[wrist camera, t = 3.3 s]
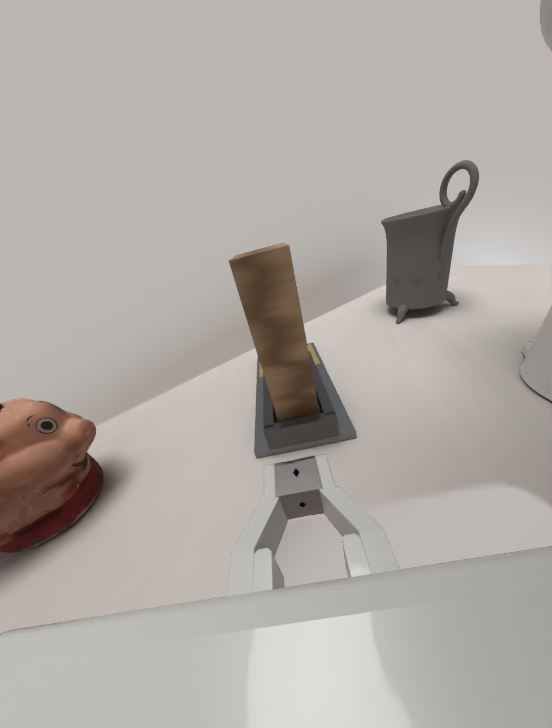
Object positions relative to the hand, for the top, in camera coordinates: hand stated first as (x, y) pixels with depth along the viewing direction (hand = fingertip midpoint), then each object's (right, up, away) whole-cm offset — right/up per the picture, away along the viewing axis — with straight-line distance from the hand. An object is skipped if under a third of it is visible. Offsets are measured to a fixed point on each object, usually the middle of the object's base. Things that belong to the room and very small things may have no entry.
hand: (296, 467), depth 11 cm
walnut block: (+2, -1, +20) cm, 20 cm away
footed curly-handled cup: (+31, +17, +41) cm, 54 cm away
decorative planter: (-28, -13, +16) cm, 35 cm away
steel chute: (+2, +1, +26) cm, 26 cm away
